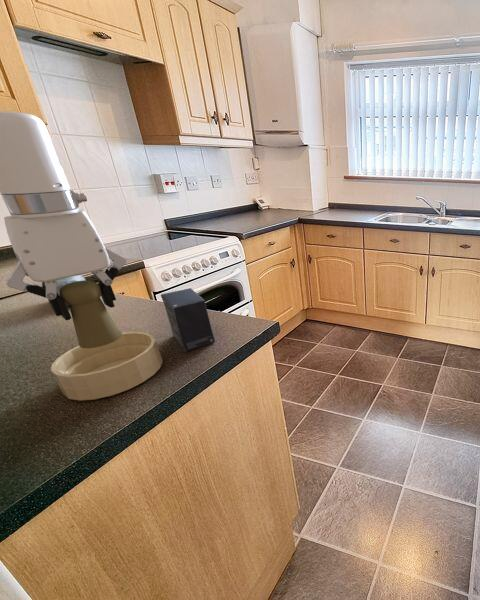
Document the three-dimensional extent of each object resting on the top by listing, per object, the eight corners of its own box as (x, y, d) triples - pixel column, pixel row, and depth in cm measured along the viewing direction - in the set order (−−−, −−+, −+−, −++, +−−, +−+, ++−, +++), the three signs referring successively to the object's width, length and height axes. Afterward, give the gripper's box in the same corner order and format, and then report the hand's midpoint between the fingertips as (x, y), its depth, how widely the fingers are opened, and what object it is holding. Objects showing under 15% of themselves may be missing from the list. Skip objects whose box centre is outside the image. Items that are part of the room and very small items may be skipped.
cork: (115, 328, 65) (93, 274, 60) (127, 337, 61) (105, 281, 57) (74, 341, 60) (47, 284, 56) (85, 352, 57) (57, 292, 52)
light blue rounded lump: (98, 291, 94) (63, 264, 89) (63, 315, 90) (25, 288, 86) (102, 289, 105) (71, 264, 100) (71, 310, 101) (38, 285, 96)
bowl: (48, 412, 55) (33, 385, 53) (82, 365, 67) (71, 341, 65) (155, 388, 61) (145, 362, 58) (168, 348, 73) (160, 326, 71)
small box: (217, 342, 75) (206, 299, 71) (185, 353, 71) (170, 308, 67) (202, 326, 82) (191, 286, 78) (172, 335, 78) (158, 294, 74)
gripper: (104, 196, 59) (137, 291, 67) (-48, 209, 47) (14, 324, 54) (119, 199, 55) (153, 300, 63) (-42, 215, 43) (24, 338, 50)
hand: (88, 310), depth 58 cm, fingers closed on cork, 5 cm apart
